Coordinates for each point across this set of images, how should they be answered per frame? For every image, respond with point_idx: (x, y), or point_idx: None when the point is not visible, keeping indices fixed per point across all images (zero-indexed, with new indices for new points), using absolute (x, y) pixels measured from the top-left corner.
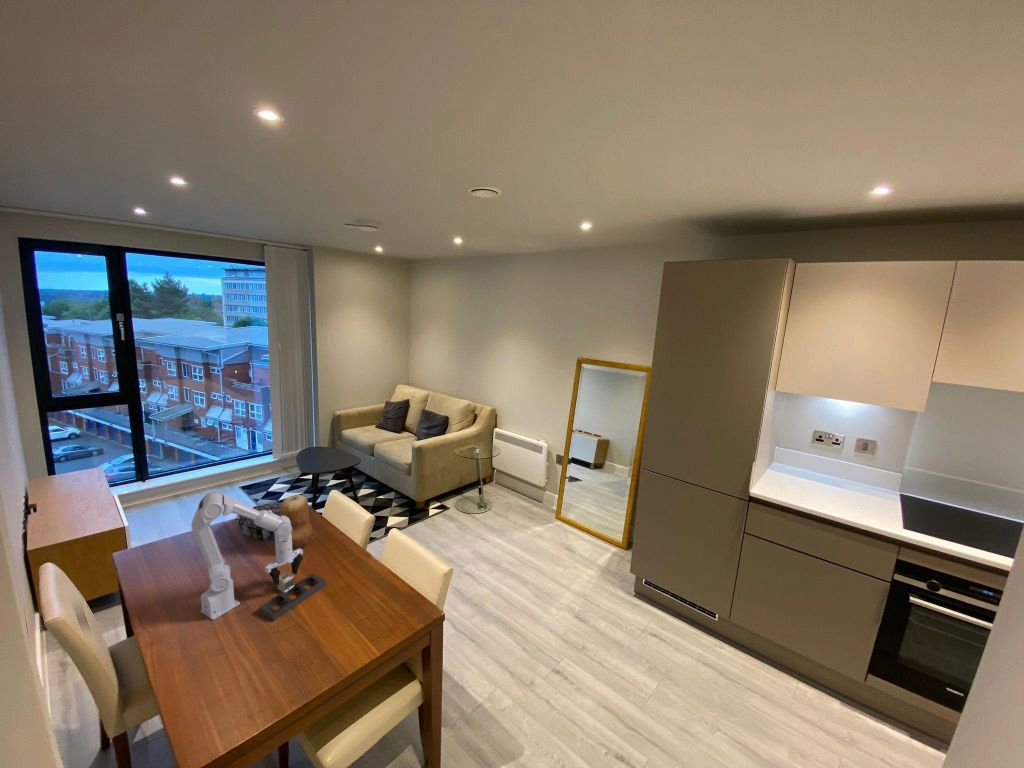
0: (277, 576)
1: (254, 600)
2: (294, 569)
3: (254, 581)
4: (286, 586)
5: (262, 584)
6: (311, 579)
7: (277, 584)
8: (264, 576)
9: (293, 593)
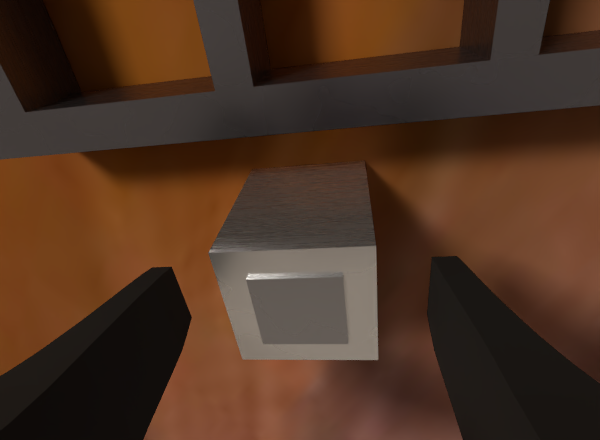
0: (590, 416)
1: (584, 280)
2: (142, 341)
3: (406, 423)
4: (337, 193)
5: (398, 375)
6: (44, 89)
7: (465, 267)
8: (337, 417)
9: (311, 64)
